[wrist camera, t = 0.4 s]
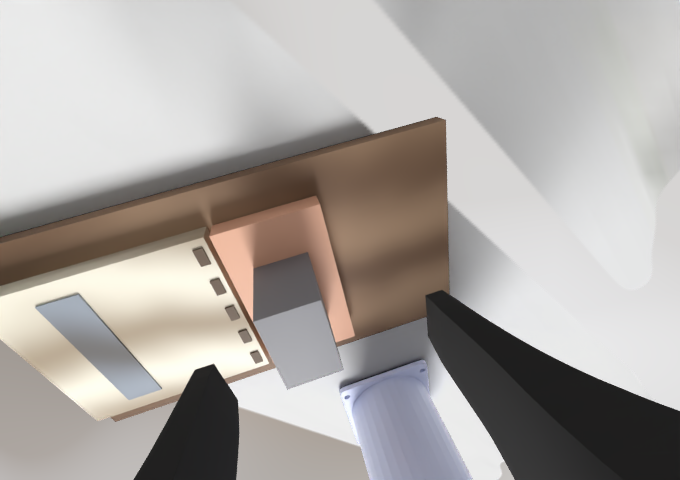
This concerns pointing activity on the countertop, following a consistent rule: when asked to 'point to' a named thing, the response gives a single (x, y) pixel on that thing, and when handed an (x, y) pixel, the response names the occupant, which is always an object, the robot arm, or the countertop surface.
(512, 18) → the countertop surface
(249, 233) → the pink grey stepped block
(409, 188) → the board
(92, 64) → the countertop surface
